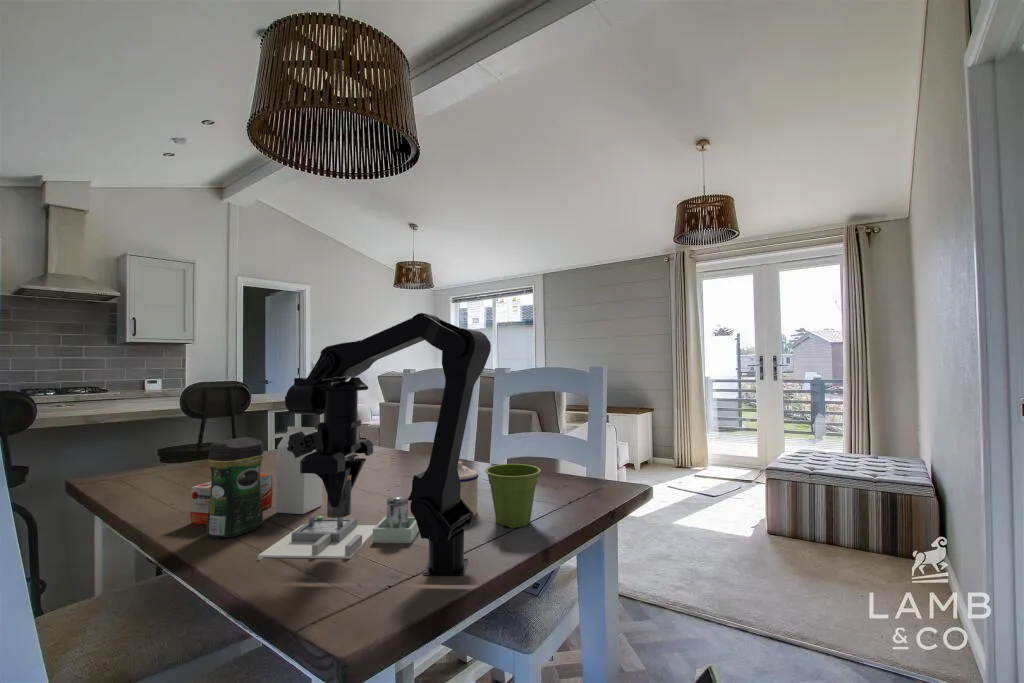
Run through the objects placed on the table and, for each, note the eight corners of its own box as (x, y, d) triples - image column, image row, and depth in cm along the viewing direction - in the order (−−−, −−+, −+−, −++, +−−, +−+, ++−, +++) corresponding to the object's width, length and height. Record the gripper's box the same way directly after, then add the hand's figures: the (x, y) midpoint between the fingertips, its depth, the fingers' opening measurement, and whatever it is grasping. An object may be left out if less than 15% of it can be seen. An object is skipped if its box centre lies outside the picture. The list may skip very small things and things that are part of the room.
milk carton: (303, 515, 107) (305, 429, 108) (275, 513, 109) (277, 428, 110) (322, 506, 114) (323, 425, 115) (295, 504, 116) (297, 424, 117)
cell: (345, 517, 84) (346, 476, 84) (323, 517, 84) (323, 475, 84) (354, 511, 88) (354, 471, 88) (332, 510, 88) (333, 471, 88)
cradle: (335, 536, 90) (335, 522, 90) (301, 536, 90) (302, 522, 90) (348, 525, 96) (348, 512, 96) (316, 524, 97) (317, 511, 97)
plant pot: (473, 523, 102) (473, 469, 102) (513, 511, 110) (512, 461, 111) (513, 537, 93) (513, 478, 94) (552, 523, 102) (552, 469, 102)
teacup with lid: (484, 510, 111) (484, 459, 111) (469, 522, 102) (469, 467, 103) (436, 506, 114) (436, 456, 115) (418, 517, 106) (418, 463, 106)
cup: (411, 545, 89) (411, 529, 89) (372, 545, 89) (372, 528, 89) (420, 532, 96) (420, 517, 96) (384, 531, 96) (384, 516, 96)
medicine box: (244, 505, 116) (245, 471, 116) (272, 507, 114) (273, 473, 115) (188, 525, 101) (189, 486, 102) (220, 528, 99) (221, 488, 100)
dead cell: (404, 539, 91) (405, 501, 91) (383, 539, 91) (384, 500, 91) (410, 532, 95) (410, 495, 95) (389, 532, 95) (390, 495, 95)
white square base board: (350, 561, 82) (350, 545, 82) (258, 559, 82) (258, 543, 83) (379, 529, 98) (379, 516, 98) (302, 528, 98) (302, 515, 99)
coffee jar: (243, 521, 103) (245, 434, 104) (269, 526, 100) (271, 436, 101) (197, 536, 94) (200, 440, 95) (224, 542, 91) (227, 443, 92)
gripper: (319, 411, 96) (318, 490, 95) (268, 421, 78) (266, 519, 77) (374, 411, 96) (373, 490, 95) (336, 421, 77) (335, 520, 76)
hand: (339, 503), depth 86 cm, fingers closed on cell, 4 cm apart
